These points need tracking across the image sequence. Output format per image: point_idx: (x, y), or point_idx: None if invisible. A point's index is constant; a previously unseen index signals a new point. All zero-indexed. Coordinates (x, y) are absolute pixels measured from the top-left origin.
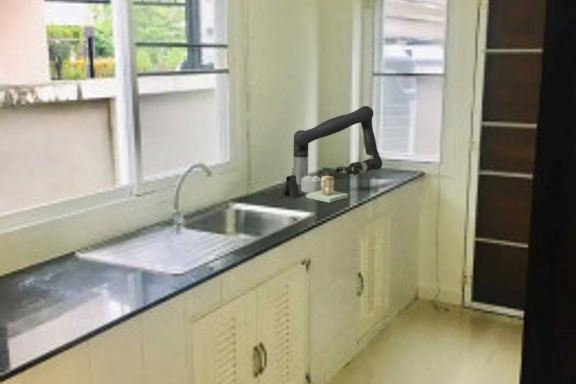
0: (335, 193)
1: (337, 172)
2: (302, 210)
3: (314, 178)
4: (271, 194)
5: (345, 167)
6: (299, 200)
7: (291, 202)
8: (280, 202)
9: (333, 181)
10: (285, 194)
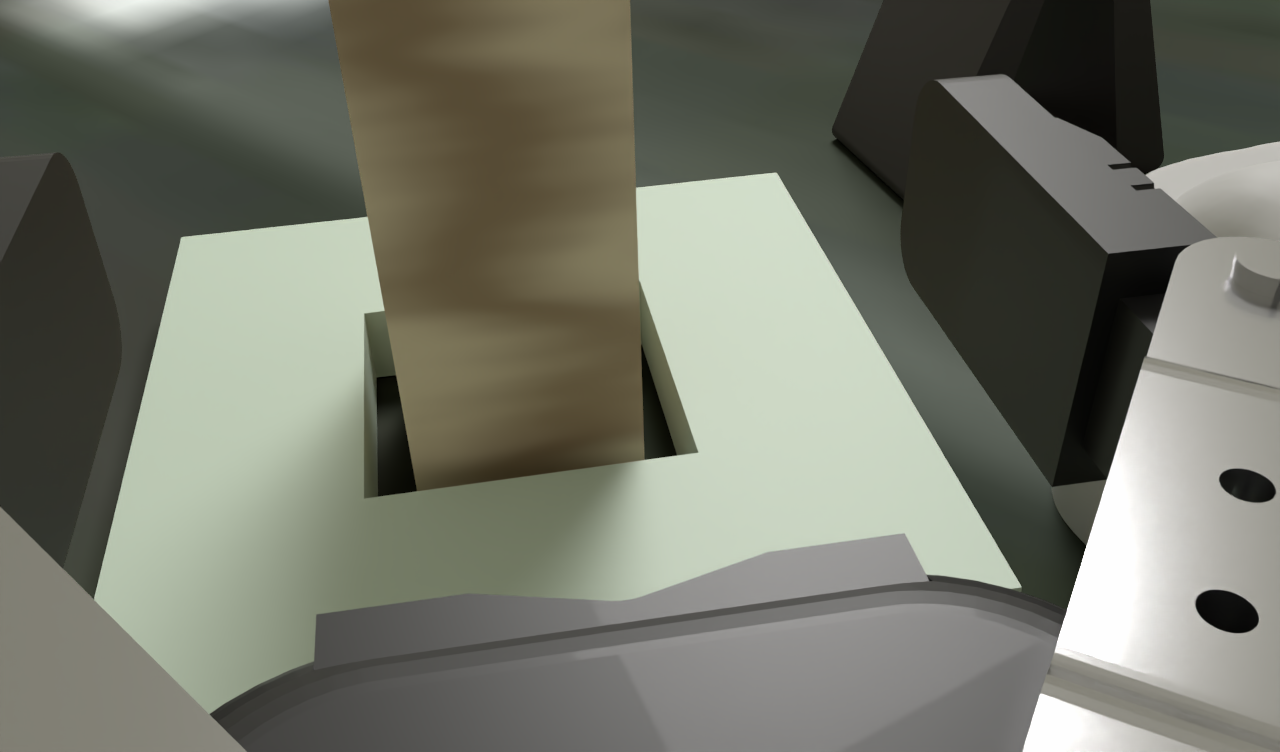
0: (417, 519)
1: (947, 318)
2: (246, 17)
3: (1270, 163)
4: (1215, 69)
5: (1093, 537)
6: (665, 130)
7: (635, 60)
8: (717, 13)
9: (354, 134)
10: (1030, 92)
